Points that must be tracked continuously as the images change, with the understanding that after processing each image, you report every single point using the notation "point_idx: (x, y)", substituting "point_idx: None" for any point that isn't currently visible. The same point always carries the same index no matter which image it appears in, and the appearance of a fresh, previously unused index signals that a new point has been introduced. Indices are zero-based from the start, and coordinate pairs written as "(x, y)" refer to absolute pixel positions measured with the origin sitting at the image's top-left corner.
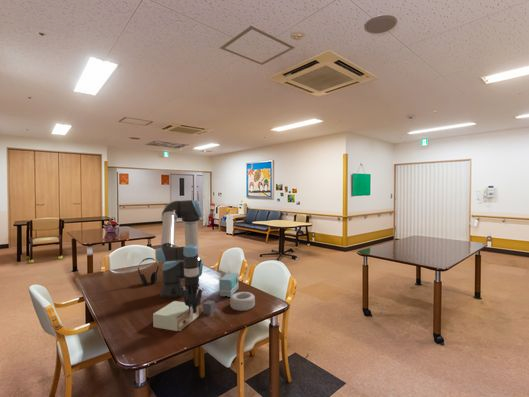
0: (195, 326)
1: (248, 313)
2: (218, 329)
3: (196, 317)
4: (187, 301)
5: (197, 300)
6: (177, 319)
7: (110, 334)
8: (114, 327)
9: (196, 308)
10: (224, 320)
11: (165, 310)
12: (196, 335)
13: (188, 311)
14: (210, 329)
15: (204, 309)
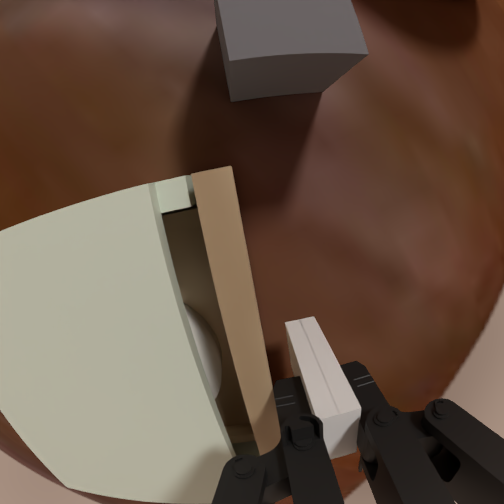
0: (335, 333)
1: (497, 30)
2: (481, 279)
3: (241, 219)
4: (228, 499)
5: (476, 495)
6: None
7: (50, 476)
8: (6, 443)
9: (380, 391)
10: (468, 151)
11: (62, 451)
12: (399, 392)
13: (263, 408)
14: (446, 305)
15: (250, 85)
